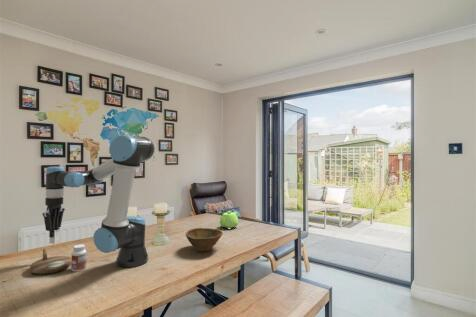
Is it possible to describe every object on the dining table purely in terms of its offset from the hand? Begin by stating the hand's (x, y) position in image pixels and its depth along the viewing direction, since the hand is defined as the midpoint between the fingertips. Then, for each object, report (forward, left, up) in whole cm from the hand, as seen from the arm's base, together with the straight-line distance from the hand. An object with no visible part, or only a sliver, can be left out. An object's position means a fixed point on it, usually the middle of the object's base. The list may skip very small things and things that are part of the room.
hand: (53, 242), depth 136 cm
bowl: (-52, -58, -9) cm, 78 cm away
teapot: (-37, -107, -9) cm, 114 cm away
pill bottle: (-21, -2, -9) cm, 23 cm away
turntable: (-10, +5, -8) cm, 14 cm away
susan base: (-10, +5, -9) cm, 14 cm away
